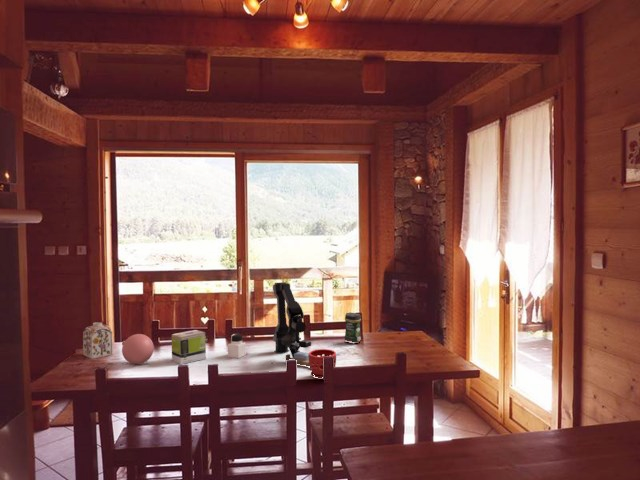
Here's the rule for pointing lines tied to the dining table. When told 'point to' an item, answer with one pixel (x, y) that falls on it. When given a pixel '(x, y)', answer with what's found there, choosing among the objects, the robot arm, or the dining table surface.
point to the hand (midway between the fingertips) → (293, 357)
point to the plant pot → (319, 361)
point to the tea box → (188, 346)
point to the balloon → (137, 349)
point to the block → (302, 356)
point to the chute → (299, 360)
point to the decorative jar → (97, 341)
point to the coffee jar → (352, 327)
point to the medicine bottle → (236, 347)
